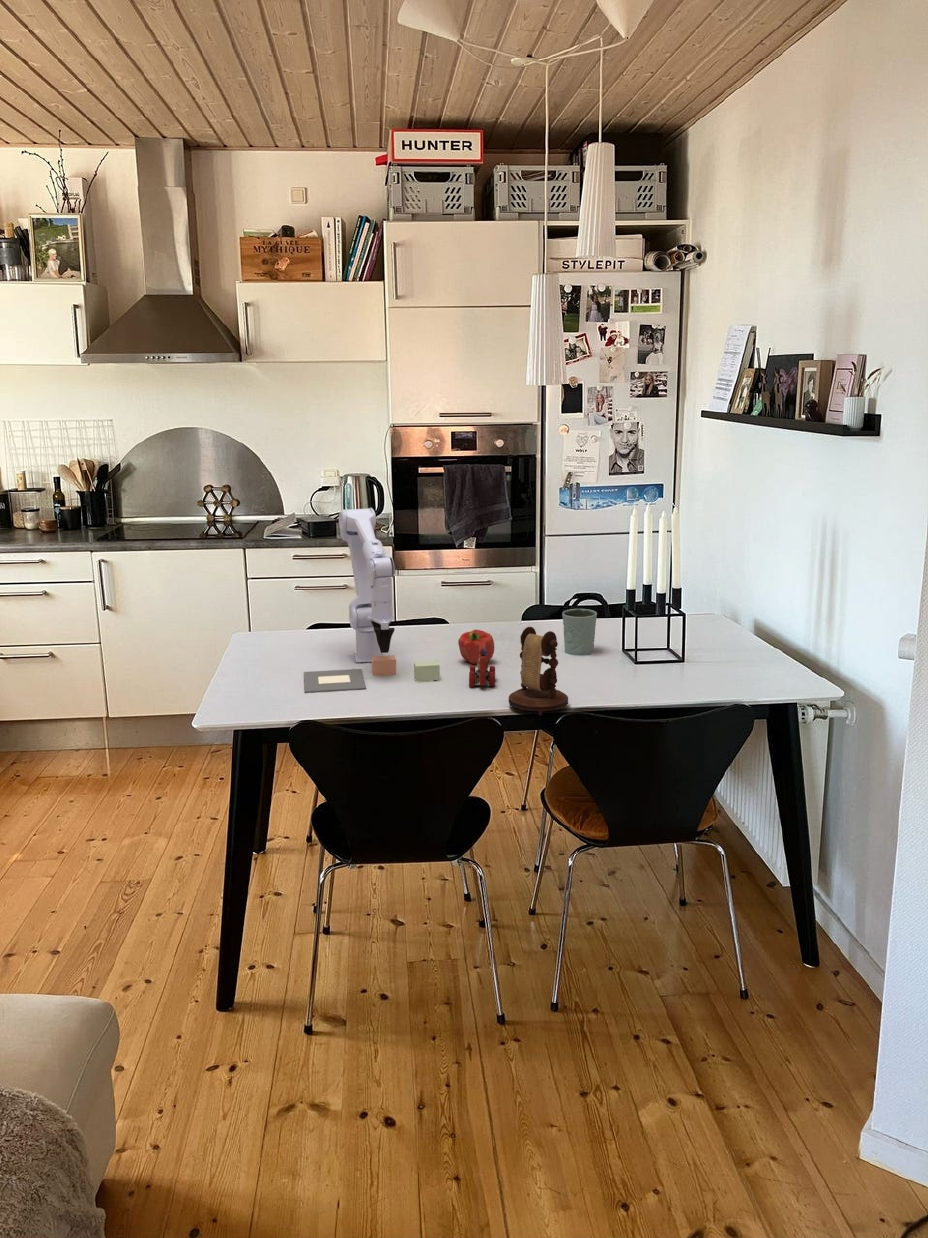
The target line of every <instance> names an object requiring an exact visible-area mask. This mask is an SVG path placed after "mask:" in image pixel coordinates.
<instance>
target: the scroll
mask: <svg viewBox="0 0 928 1238" xmlns="http://www.w3.org/2000/svg"><path fill="white" fill-rule="evenodd" d="M520 645H521V648H520V649H521V652H520V653H519V658H520V659H521V666H520V668H521V669H520V681H521V682H520V687H521V688H518V689H516V690H515V691H513V692H511V693H510V694H509V695H508V704H509V707H510V706H513V707H514V708H516V709H519V710H522V711H530V712H537V715H538V716H539V717H541V716H542V715H543V712H549V711H550V712H551V711H556V710H560V709H562V708H566V707H567V706H568V704H569V696H568V695H567V694H566V693H564V692H563V691H561V690H559V689H556V687H557V683H558V677H557V670H556V669H557V667H558V665H559V660H558V659H557V656H558V655H557V654H558V653H557V652H556V651H557V650H558V648H557V647H558V645H559V644H558V639H557V635H556V633H555V632H554V631H551V630H549V631H547V632H545V633H544V635H539V634H537V631H536V629H535V628H534V627H532V626H527V627H525V628H524V629H523V631H522V633H521V635H520ZM548 657H550V658H548ZM542 663H544V664H545V665H549V666H550V667H548V668H547V669H545V670H544V671H543V673H541V671H542ZM513 707H512V708H513Z"/></svg>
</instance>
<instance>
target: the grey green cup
mask: <svg viewBox="0 0 928 1238" xmlns="http://www.w3.org/2000/svg"><path fill="white" fill-rule="evenodd" d="M561 616H562V625H563V642H564V643H563V644H564V653H566V654H568V655H571V656H589V655H592V654H593V653H594V652H595V651H594V650H595V639H596V638H595V636H596V625H597V616H598V613H597V611H595V610H592V609H589V608H587V609H586V608H572V609H566V610H564V611H562V615H561Z"/></svg>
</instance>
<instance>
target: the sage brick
mask: <svg viewBox="0 0 928 1238" xmlns="http://www.w3.org/2000/svg"><path fill="white" fill-rule="evenodd" d="M413 669H414V670H413V673H414V674H413V675H414V676H413V677H414V680H415V679H416V680H415V682H416V681H426V682H431V681H430V680H440V681H441V679H440V678H441V677H440V675H441V674H440V670H441V667H440V663H439V661H438V660H426V661H424V660H423V661H413Z"/></svg>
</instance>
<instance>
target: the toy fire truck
mask: <svg viewBox="0 0 928 1238" xmlns="http://www.w3.org/2000/svg"><path fill="white" fill-rule="evenodd" d="M486 655H487V650H486V642H480V657H479V659H478V664H476V665H470V666H469V673H468V675H469V676H468V687H470V686H474V687H475V686H476V685H480V686H486V682H488V687H489V686H494V687H495V685H496V665H490V666H489V663H488V662H487V660H486ZM476 667H477V669H476ZM488 668H489V669H488Z"/></svg>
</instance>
